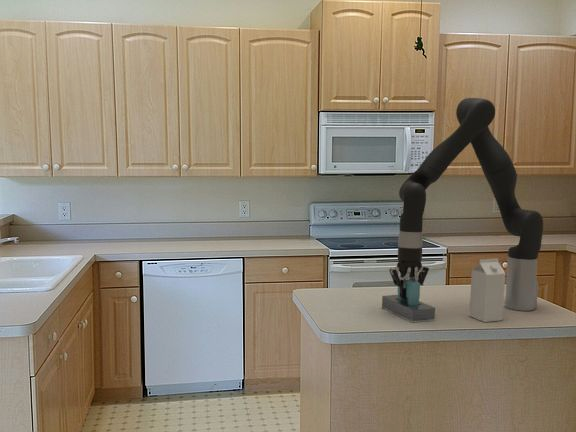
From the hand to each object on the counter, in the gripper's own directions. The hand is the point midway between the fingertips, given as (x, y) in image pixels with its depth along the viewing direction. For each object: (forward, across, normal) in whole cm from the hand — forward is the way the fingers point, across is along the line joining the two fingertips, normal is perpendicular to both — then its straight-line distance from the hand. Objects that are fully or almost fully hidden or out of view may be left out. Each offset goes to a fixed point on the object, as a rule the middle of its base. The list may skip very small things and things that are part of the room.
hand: (408, 298), depth 183 cm
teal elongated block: (+3, 0, 0) cm, 3 cm away
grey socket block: (+5, 0, 0) cm, 5 cm away
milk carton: (+5, -21, +12) cm, 25 cm away
